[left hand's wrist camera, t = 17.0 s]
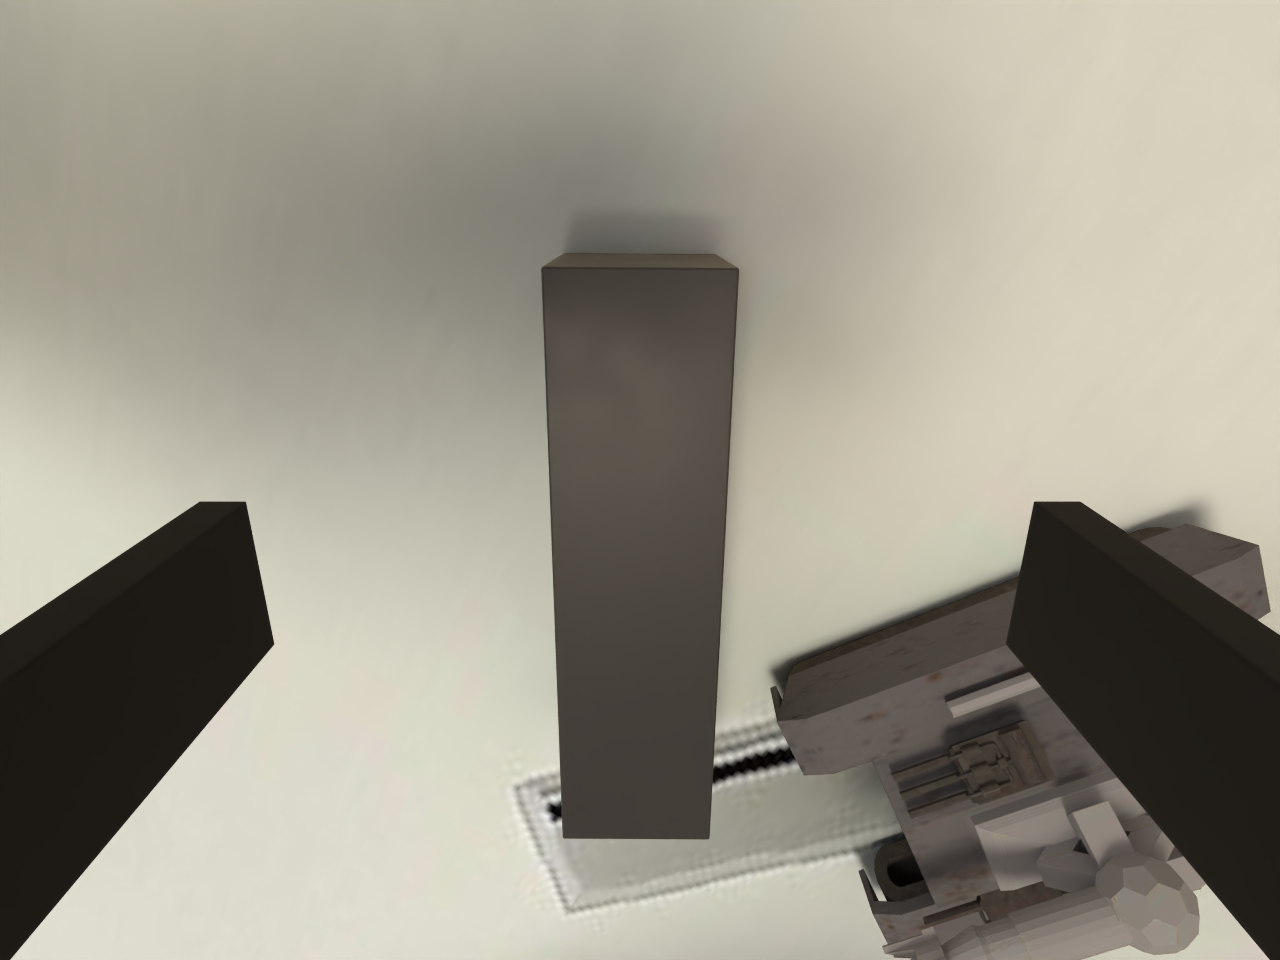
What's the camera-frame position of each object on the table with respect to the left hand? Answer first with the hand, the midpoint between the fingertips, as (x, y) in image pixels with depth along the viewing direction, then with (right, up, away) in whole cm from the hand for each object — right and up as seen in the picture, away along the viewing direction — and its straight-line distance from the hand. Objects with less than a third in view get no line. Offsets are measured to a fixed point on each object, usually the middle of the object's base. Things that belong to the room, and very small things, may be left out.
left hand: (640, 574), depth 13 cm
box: (0, -1, +29) cm, 29 cm away
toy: (+23, -13, +34) cm, 43 cm away
